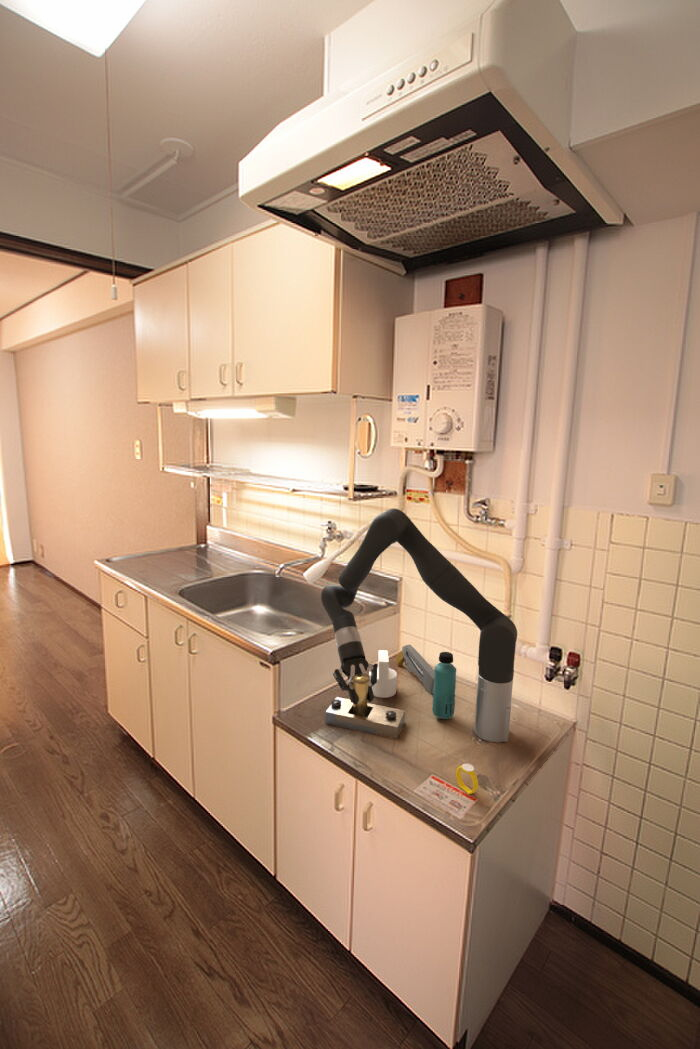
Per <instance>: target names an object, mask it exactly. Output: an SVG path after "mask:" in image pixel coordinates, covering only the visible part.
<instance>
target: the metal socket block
mask: <svg viewBox="0 0 700 1049" xmlns="http://www.w3.org/2000/svg"><path fill="white" fill-rule="evenodd" d="M353 707H354V704H353V703H352V702H351V700H350V698H343V697H341V696H340V697H339V696H336V697H335V698H334V699H332V700H331V704H330V705H329V707H328V708H327V709H326V711H325V720H324V721H325V724H327V725H331V726H335V727H341V728H343V729H348V730H353V731H358V732H362V733H367V734H371V735H377V736H381V737H386V738H390V739H394V740H398V738H399V735H400V733H401V731H402V729H403V727H404V724H405V721H406V720H405V719H406V718H405V717H406V710H403V709H399V708H394V707H388V706H383V705H379V704H373V703H370V702H368V705H367V717H362V716H357V715H353Z"/></svg>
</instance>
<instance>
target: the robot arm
mask: <svg viewBox="0 0 700 1049" xmlns="http://www.w3.org/2000/svg"><path fill="white" fill-rule="evenodd" d="M363 538H364V539H363V540H362V542H361V543H360V546H359V548H358V549H357V551H355V554H354V555H352V557H351V559H350V560H349V561H348V563H347V565H345V567H344V568H343V569H342V571H341V572H340V574H339V576H338V583H339V584H340V585H338V584H337V585H336V584H326V585H325V586H324V587H323V588H322V590H321V593H320V599H321V603H322V606H323V608H324V610H325V611H326V613H327V615H328V617H329V620H331V623H332V628H333V632H334V637H335V638H334V639H335V647H336V649H337V653H338V657H339V663H340V668H336V669H334V671H333V672H332V675H333V677H334V679H335V681H336V682H337V684H338V686H339V687H340V689H341V691H343V692H344V691H346V692H348V695H349V699H350V700H351V702H352V703H353V704H354V705H355V704H357V703H358V700H357V696H356V692H355V689H354V680H353V676H354V675H355V674H358V673H364V674H367V675H369V673H368V672H367V671H368V670H369V671H370V672H371V682H370V681H369V682H368V703H372V702H373V701H374V698H375V696H374V694H373V690H372V686H374V685H375V684H376V683H377V669H378V663H374V664H372V663H369V662H368V660H367V659H366V654H365V650H364V647H363V643H362V638H361V635H360V633H359V631H358V630H359V629H358V627H357V623H356V618H355V616H354V613H353V612H352V611H350V610H347V609H346V608H349V607H350V606H352V604H353V603H354V602H355V599H356V596H357V593H358V590H359V587H360V586H361V584H363V583H364V581H365V579H366V578H367V577H368V576H369V574H370V573H371V570H372V568H373V566H374V564H375V563H376V560H377V559H378V558H379V556H381V554H382V553H384V552H385V551H386V550H387V549H389V547H390V546H391V545H393V544H395V543H398V545H400V546H401V547H402V548H403V549H404V550H405V551H406V552H407V553H408V555H409V556H410V557H411V559H412V560H413V563H414V565H415V567H416V570H417V571H418V574H419V576H420V578H421V579H422V581H423V582H424V584H425V585H427V587H428V588H429V589H430V590H431V591H432V592H433V593H434V594H435V595H436V596H437V597H438V598H439V599H440V600H442V601H443V602H445V603H446V604H448V605H450V606H451V607H453V608H455V609H456V610H457V611H460V612H462V613H463V614H465V615H466V616H467V617H468V618H469V619H470V620H471V621H472V622H473V623H474V625H475V626H476V627H477V628H478V629H479V630H480V635H479V641H478V642H479V643H478V645H479V646H478V660H477V662H478V663H477V665H478V672H477V673H478V674H477V687H476V688H477V690H476V702H475V714H474V715H475V716H474V730H473V731H474V733H475V735H476V736H477V737H478V738H480V739H482V740H484V741H487V742H490V743H503V742H504V743H508V742H509V735H510V734H509V733H510V725H511V724H510V723H511V722H510V721H511V711H512V710H511V709H512V708H511V707H512V698H513V697H512V696H513V684H514V675H515V659H516V658H515V655H516V648H517V638H518V629H517V626H516V625H515V623H514V621H512V619H510V618H509V617H508V616H507V615H506V614H504V613H503V612H502V611H501V610H499V608H497V607H496V606H494V605H493V604H492V603H491V602H489V600H487V599H486V598H485V597H484V596H483V595H482V594H481V592H480V591H479V590H478V589H477V588H476V587H475V586H474V585H473V584H472V583H471V582H470V581H469V579H467V578H466V577H465V575H464V574H463V573H462V572H461V571H460V570H459V569H458V568H457V567H456V566H455V565H454V564H453V563H452V562H451V561H449V560H448V559H447V558H446V556H444V555H443V554H442V553H441V552H440V551H439V550H438V549H437V548H436V546H434V545H433V544H432V543H431V542H430V540H428V539H427V537H425V535H424V534H423V533H422V532H421V531H420V529H419V528H418V527H417V526H416V524H414V522H413V521H412V519H410V517H409V516H408V515H407V514H406V513H405V512H403V511H402V510H400V509H397V508H393V507H392V508H388V509H386V510H384V511H382V512H381V513H379V514H378V515H376V516H375V517H374V518H373V519H372V522H371V524H370V526H369V527H368V529H367V532H366V534H365V536H364V537H363ZM343 674H344V675H345V676H346V677H347V678H346V679H347V682H346V681H345V679H344V677H343Z"/></svg>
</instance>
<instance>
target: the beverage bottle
mask: <svg viewBox="0 0 700 1049" xmlns="http://www.w3.org/2000/svg"><path fill="white" fill-rule="evenodd" d="M438 661H439V662H438V663H437V664H436V665H435V666H434V670H435V676H434V690H433V694H432V695H433V696H432V704H431V707H432V710H431V712H432V713H433V715H434V716H435V717H436V718H439V719H443V720H447V719H452V718H453V716H454V714H455V709H456V706H455V705H456V699H455V698H456V686H457V668H456V666H454V664H453V662H454V654H453V653H451V652H449V651H441V652H440V653H439V656H438Z"/></svg>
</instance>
